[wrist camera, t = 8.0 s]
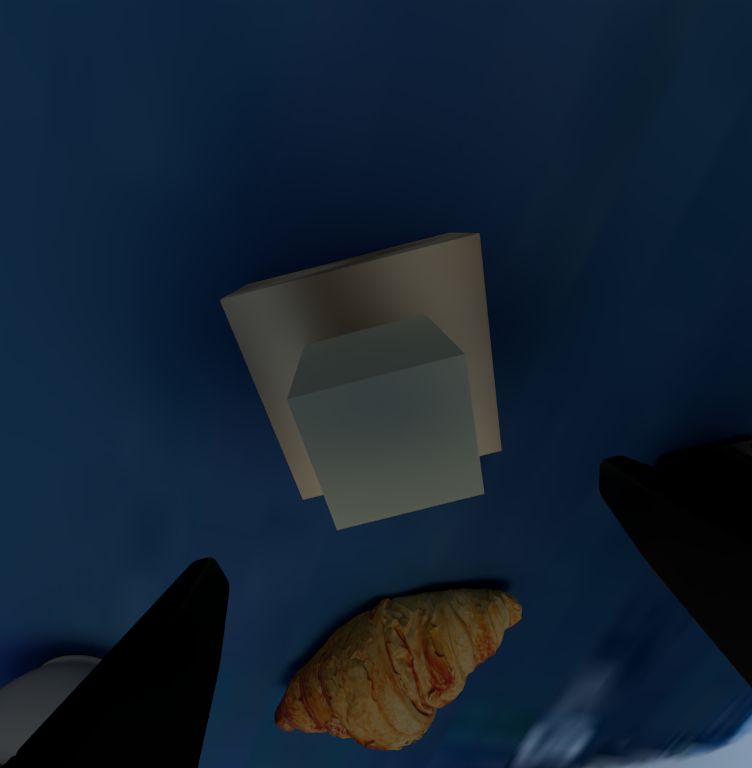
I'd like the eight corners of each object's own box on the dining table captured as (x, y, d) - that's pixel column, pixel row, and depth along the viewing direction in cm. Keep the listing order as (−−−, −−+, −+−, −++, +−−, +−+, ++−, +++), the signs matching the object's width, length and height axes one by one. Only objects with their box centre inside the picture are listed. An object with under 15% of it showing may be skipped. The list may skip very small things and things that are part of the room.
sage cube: (425, 313, 14) (465, 354, 10) (444, 419, 16) (484, 493, 12) (304, 344, 14) (286, 399, 10) (338, 445, 16) (336, 530, 12)
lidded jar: (155, 717, 30) (82, 909, 22) (12, 714, 28) (-130, 923, 20) (158, 639, 26) (70, 836, 18) (-8, 629, 24) (-196, 844, 16)
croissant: (476, 523, 29) (494, 572, 22) (543, 634, 28) (586, 728, 21) (270, 633, 32) (218, 712, 24) (325, 738, 31) (290, 857, 23)
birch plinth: (449, 232, 17) (479, 233, 13) (473, 411, 21) (501, 450, 17) (246, 284, 17) (219, 299, 13) (309, 452, 21) (303, 499, 17)
